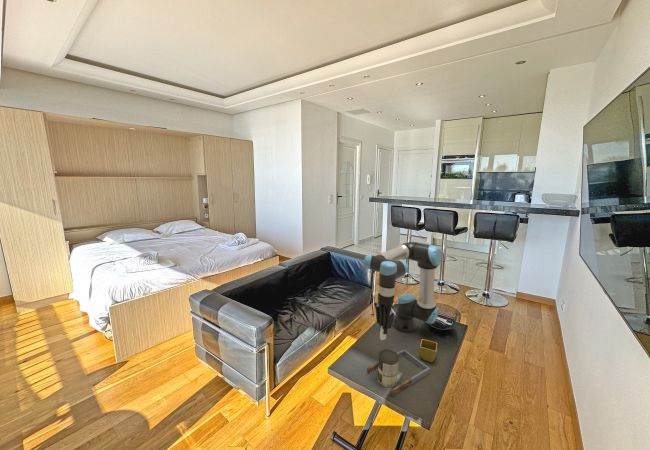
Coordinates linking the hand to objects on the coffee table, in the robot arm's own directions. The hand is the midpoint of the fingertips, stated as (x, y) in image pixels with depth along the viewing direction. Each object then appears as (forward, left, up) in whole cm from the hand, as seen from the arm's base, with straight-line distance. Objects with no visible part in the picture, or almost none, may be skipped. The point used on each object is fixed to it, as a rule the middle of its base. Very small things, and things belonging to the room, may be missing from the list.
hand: (382, 338), depth 127 cm
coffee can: (-6, 0, -26) cm, 27 cm away
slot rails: (-7, 0, -26) cm, 27 cm away
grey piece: (-21, 0, -26) cm, 33 cm away
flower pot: (-38, +1, -26) cm, 46 cm away
